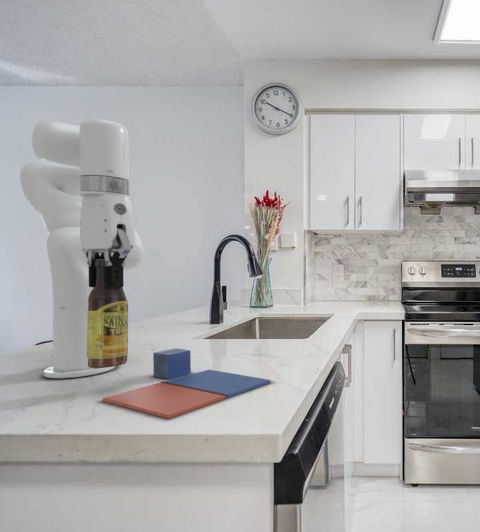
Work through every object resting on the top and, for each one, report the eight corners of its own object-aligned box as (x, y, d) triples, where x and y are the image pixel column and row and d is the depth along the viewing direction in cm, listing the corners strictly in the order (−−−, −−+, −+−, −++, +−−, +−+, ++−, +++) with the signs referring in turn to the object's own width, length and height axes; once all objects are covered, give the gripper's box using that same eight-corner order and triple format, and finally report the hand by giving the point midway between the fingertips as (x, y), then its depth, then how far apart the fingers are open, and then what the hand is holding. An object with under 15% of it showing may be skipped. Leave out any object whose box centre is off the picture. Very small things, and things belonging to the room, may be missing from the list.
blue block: (153, 376, 87) (153, 352, 87) (175, 370, 91) (175, 348, 91) (168, 379, 84) (168, 355, 84) (190, 373, 89) (190, 350, 89)
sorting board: (102, 401, 71) (102, 397, 71) (208, 372, 90) (208, 368, 90) (168, 419, 63) (168, 414, 63) (270, 382, 82) (270, 379, 82)
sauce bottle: (107, 370, 74) (104, 258, 74) (78, 369, 75) (75, 259, 75) (137, 361, 80) (135, 259, 80) (110, 360, 82) (108, 259, 81)
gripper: (152, 189, 77) (153, 288, 77) (102, 194, 84) (103, 284, 85) (109, 182, 70) (109, 290, 71) (58, 189, 78) (59, 286, 78)
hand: (106, 286), depth 78 cm, fingers closed on sauce bottle, 4 cm apart
